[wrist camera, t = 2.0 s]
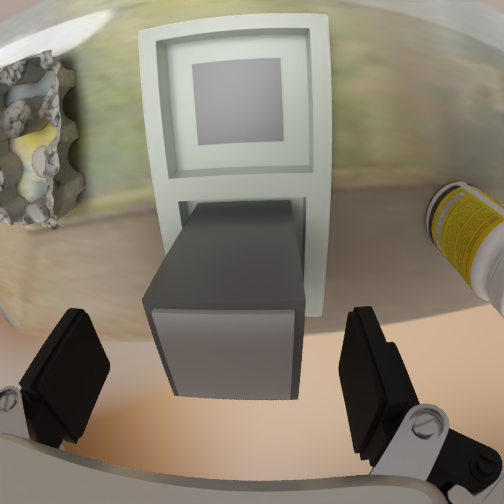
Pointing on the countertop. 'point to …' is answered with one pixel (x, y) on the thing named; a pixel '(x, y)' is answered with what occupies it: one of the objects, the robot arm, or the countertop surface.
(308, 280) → the power strip
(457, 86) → the countertop surface
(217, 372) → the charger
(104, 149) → the countertop surface
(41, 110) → the egg carton
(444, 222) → the supplement bottle
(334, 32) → the countertop surface
